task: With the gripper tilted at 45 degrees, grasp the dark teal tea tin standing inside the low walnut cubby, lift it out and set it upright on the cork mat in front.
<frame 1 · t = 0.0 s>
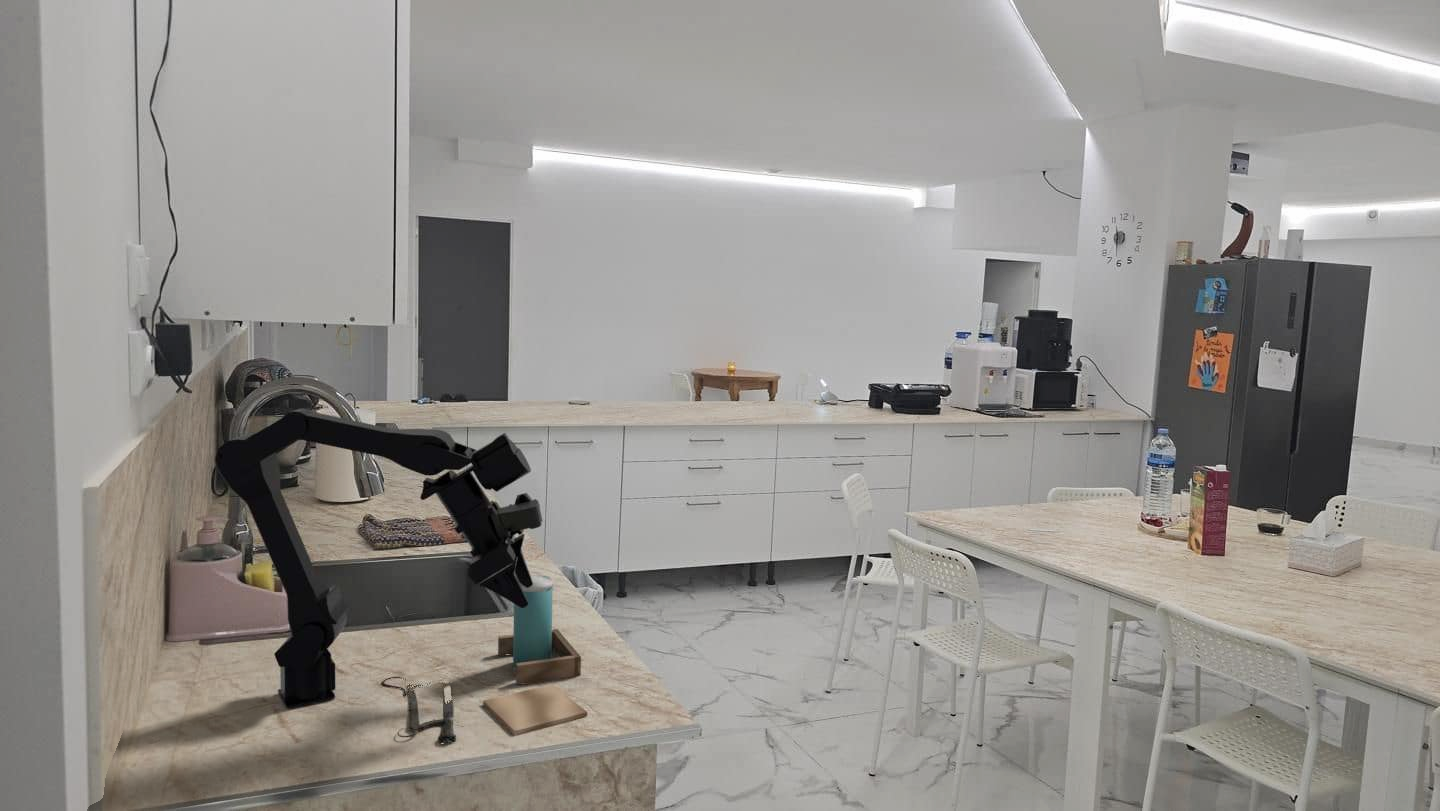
hand: (528, 595, 135), 15 cm above the counter, tool tilted 35°, fingers open, 9 cm apart
hacksaw: (416, 712, 130), on the counter
mat: (534, 710, 131), on the counter
tin: (532, 623, 146), in the cubby
cubby: (532, 665, 147), on the counter
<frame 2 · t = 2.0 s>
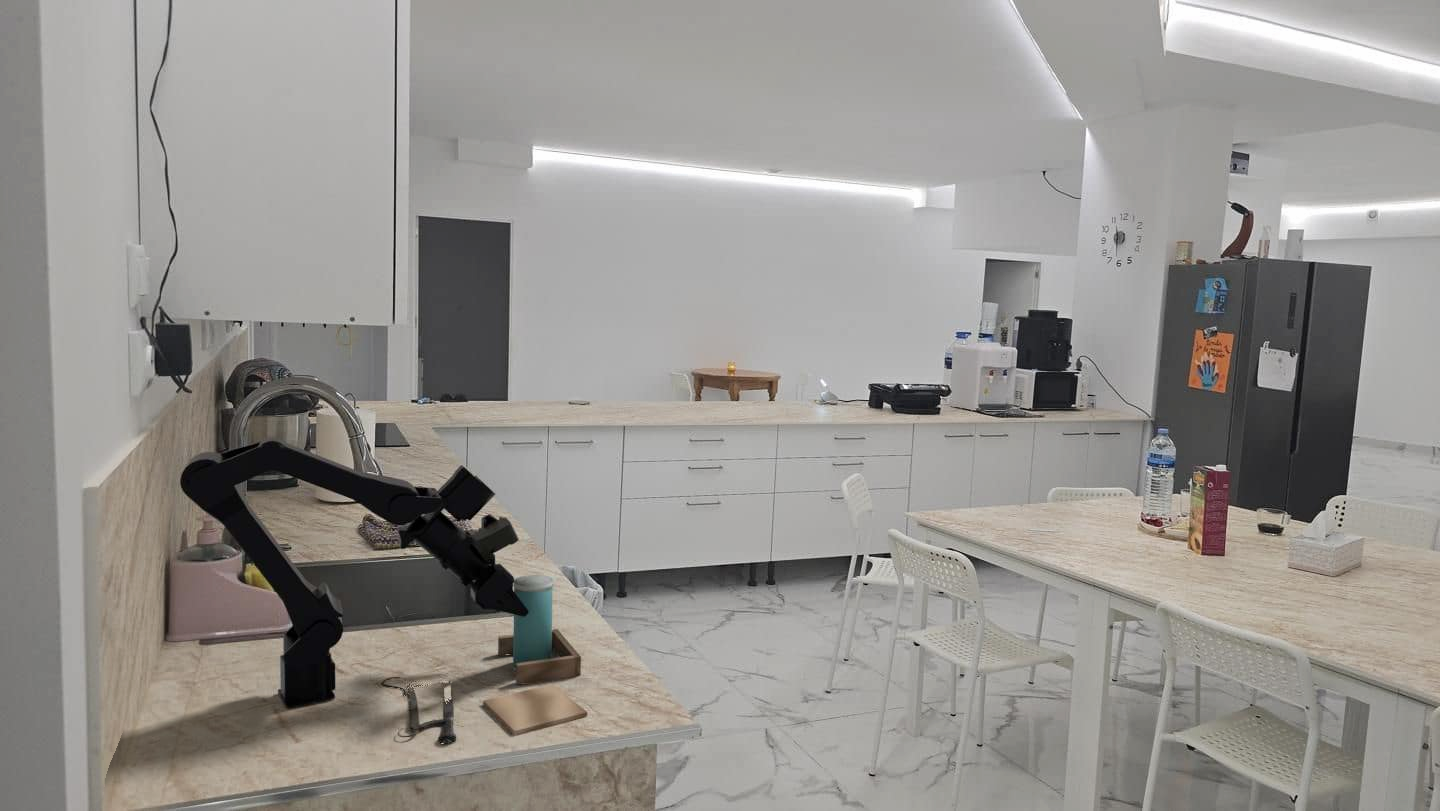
hand: (519, 604, 144), 10 cm above the counter, tool tilted 45°, fingers open, 9 cm apart
nothing on the counter moved.
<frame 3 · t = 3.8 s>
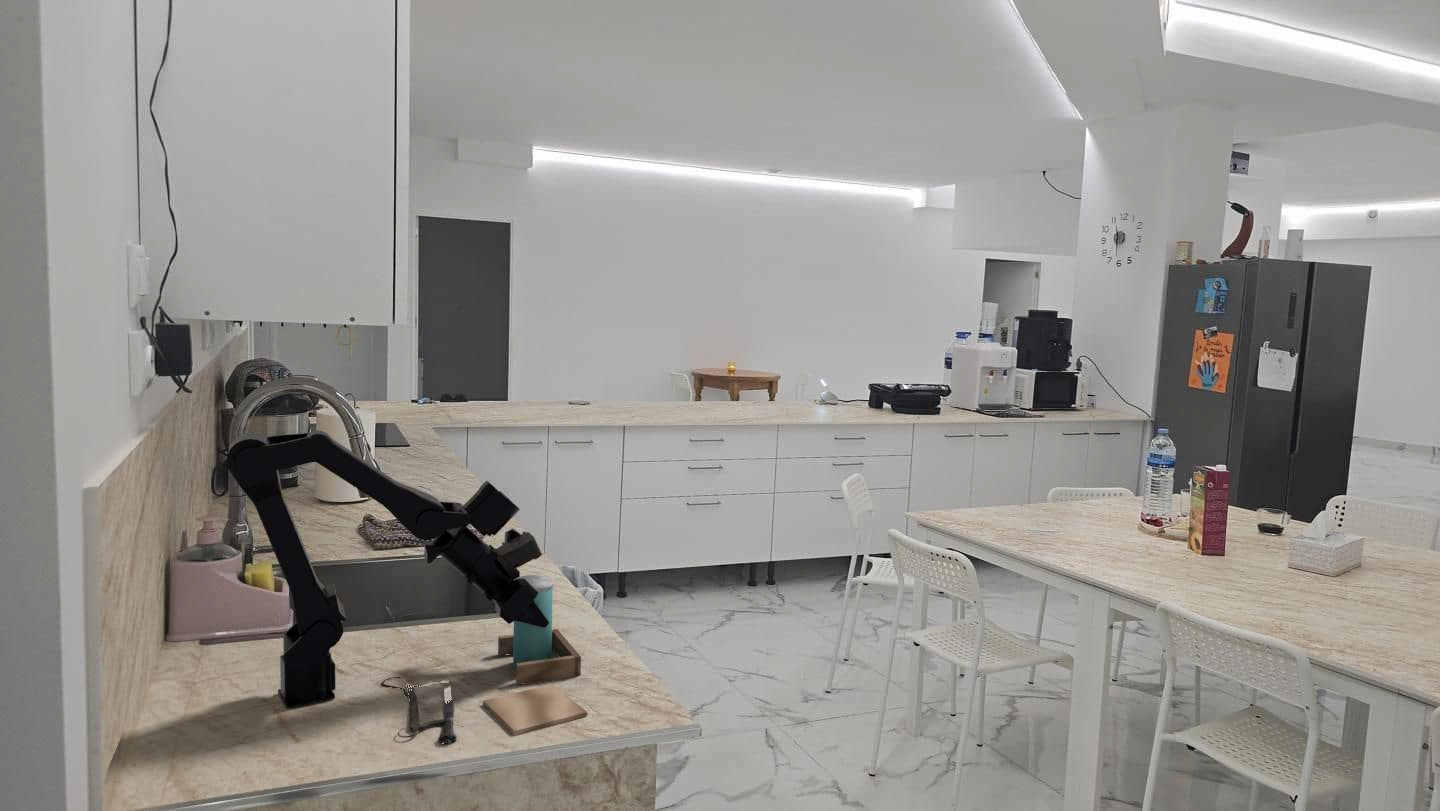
hand: (541, 618, 146), 8 cm above the counter, tool tilted 45°, fingers closed on tin, 6 cm apart
tin: (532, 623, 146), in the cubby, touching gripper
everything else where it was.
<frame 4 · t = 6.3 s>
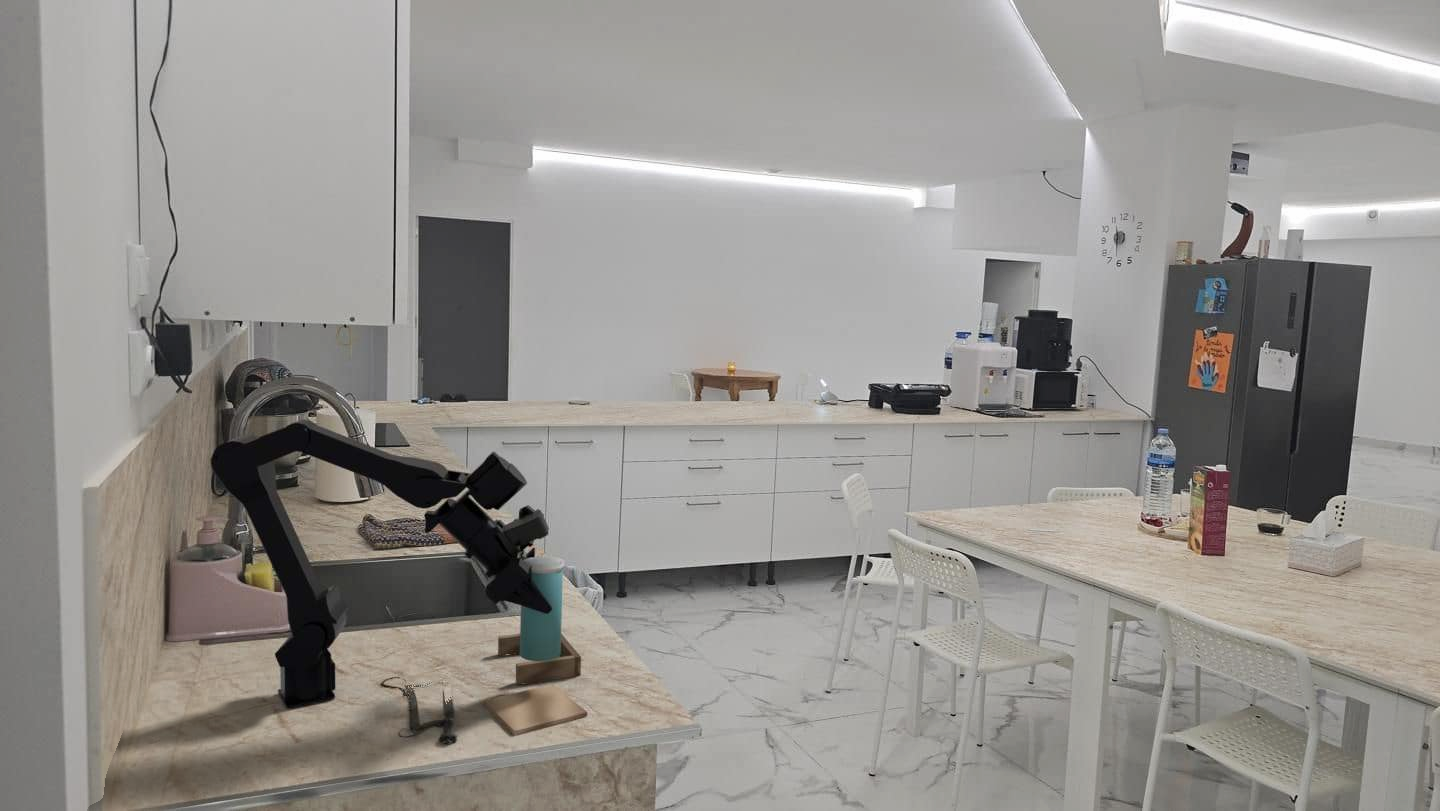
hand: (550, 604, 136), 13 cm above the counter, tool tilted 45°, fingers closed on tin, 6 cm apart
tin: (541, 608, 136), point 13 cm above the counter, touching gripper
everything else where it was.
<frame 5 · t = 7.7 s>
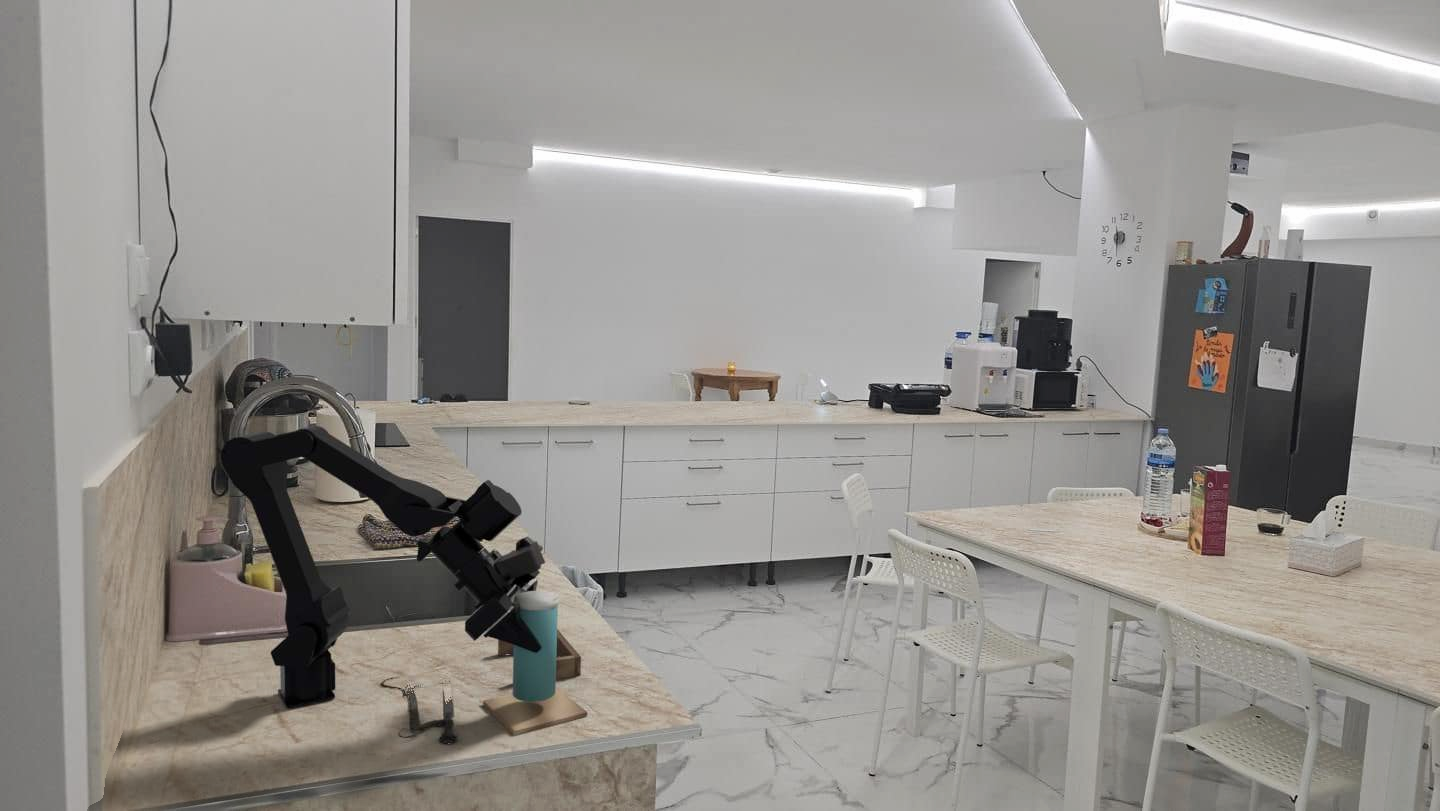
hand: (544, 642, 130), 10 cm above the counter, tool tilted 45°, fingers closed on tin, 6 cm apart
tin: (535, 645, 130), point 10 cm above the counter, touching gripper
everything else where it was.
when the fingers open (9 cm above the counter, at t = 8.7 s): tin drops 1 cm, resting on mat.
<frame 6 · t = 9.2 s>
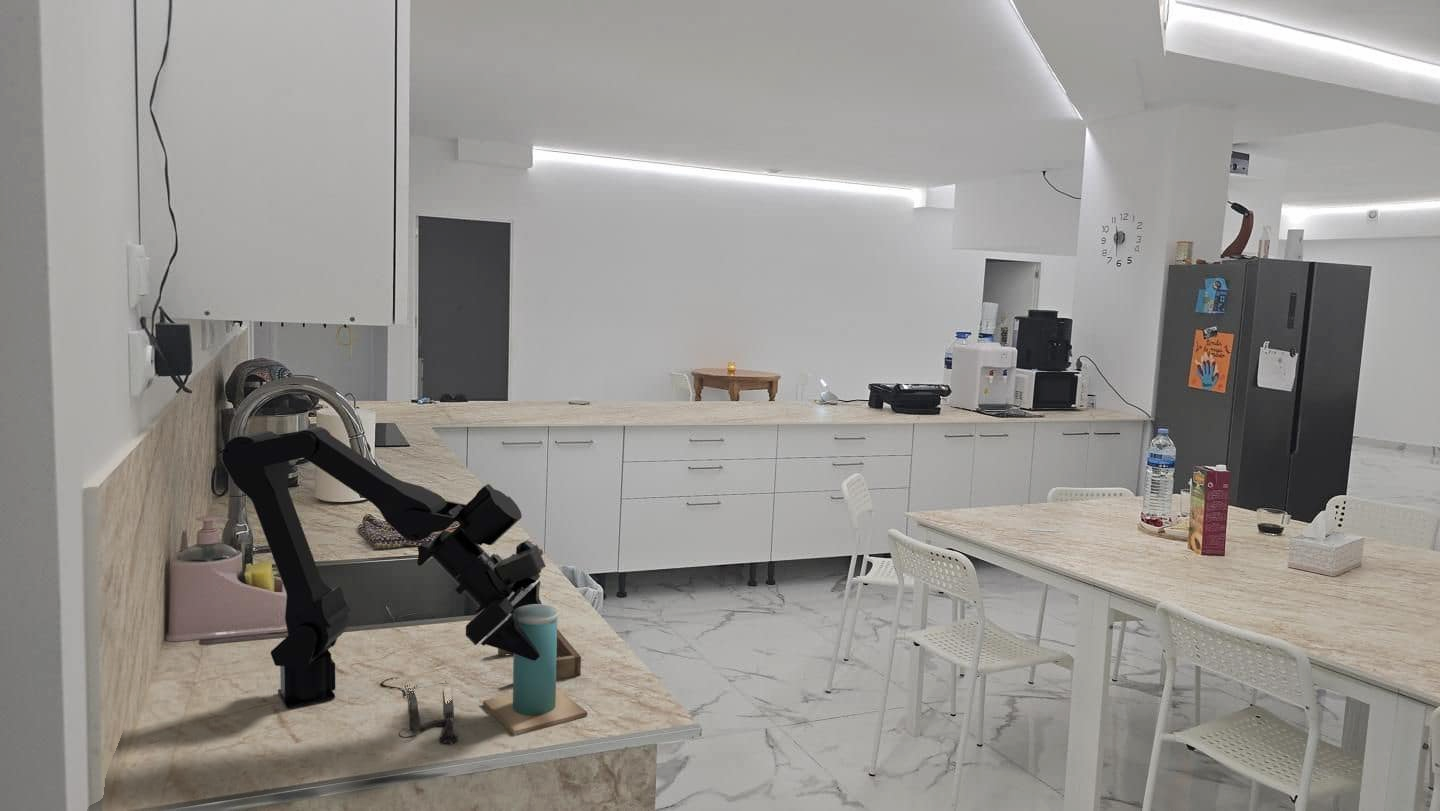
hand: (545, 645, 130), 10 cm above the counter, tool tilted 45°, fingers open, 9 cm apart
tin: (535, 659, 130), on the mat, point 8 cm above the counter
everything else where it was.
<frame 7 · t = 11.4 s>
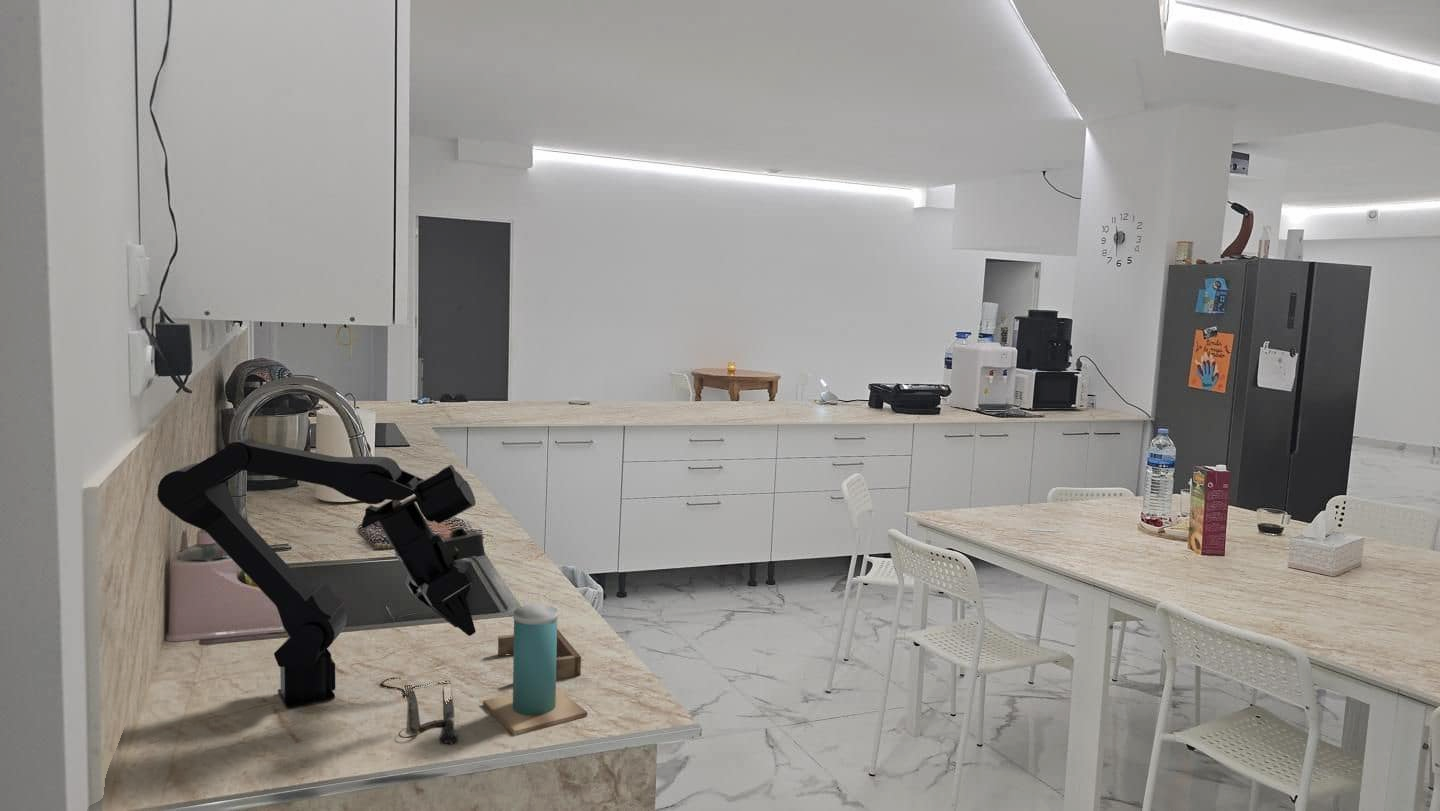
hand: (465, 629, 134), 10 cm above the counter, tool tilted 30°, fingers open, 9 cm apart
nothing on the counter moved.
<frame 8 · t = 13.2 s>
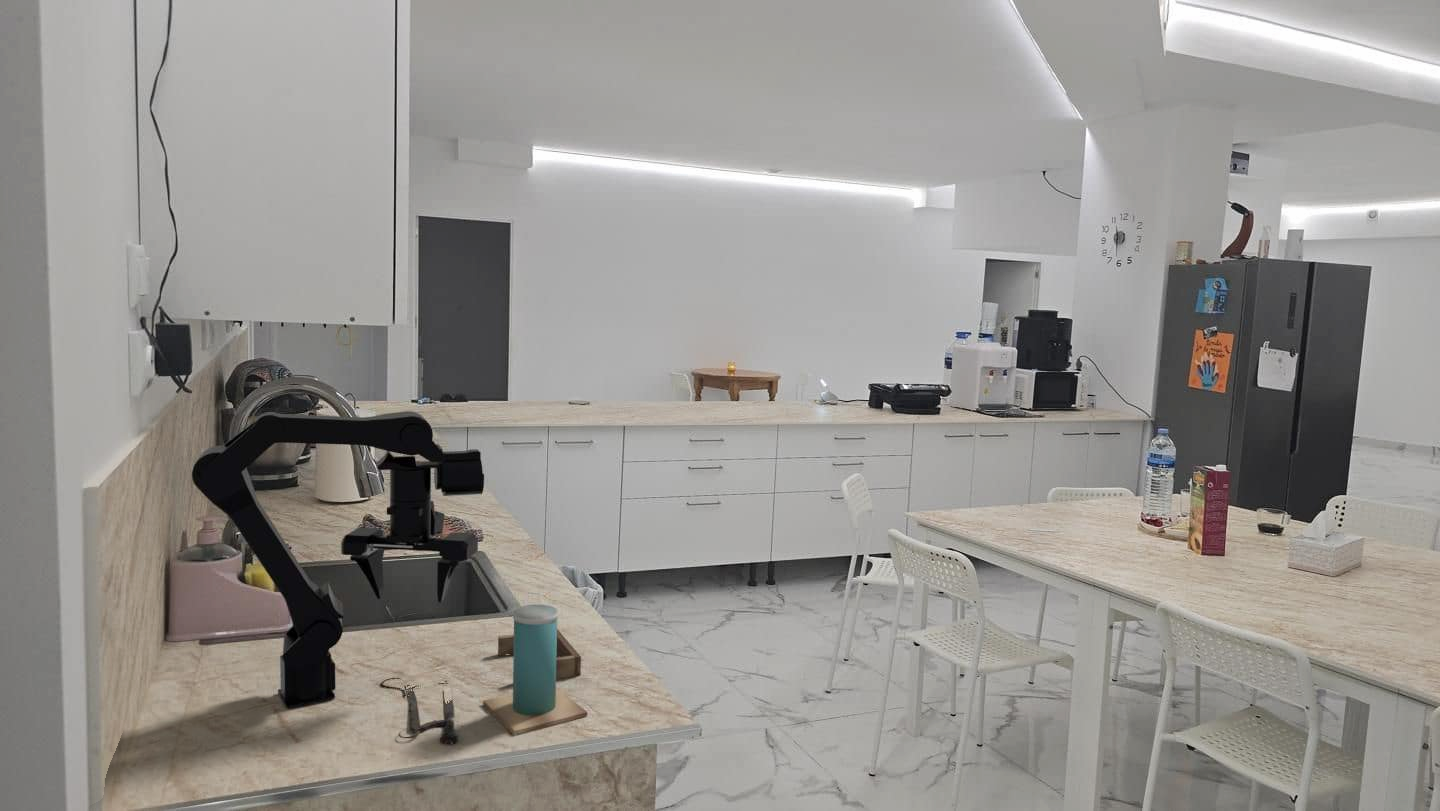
hand: (410, 600, 137), 13 cm above the counter, tool pointing down, fingers open, 9 cm apart
nothing on the counter moved.
at the end: tin inside the target area on the mat (0.1 cm from its centre), point 7.6 cm above the mat's base; tin tilted 0°; the gripper is holding nothing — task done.
